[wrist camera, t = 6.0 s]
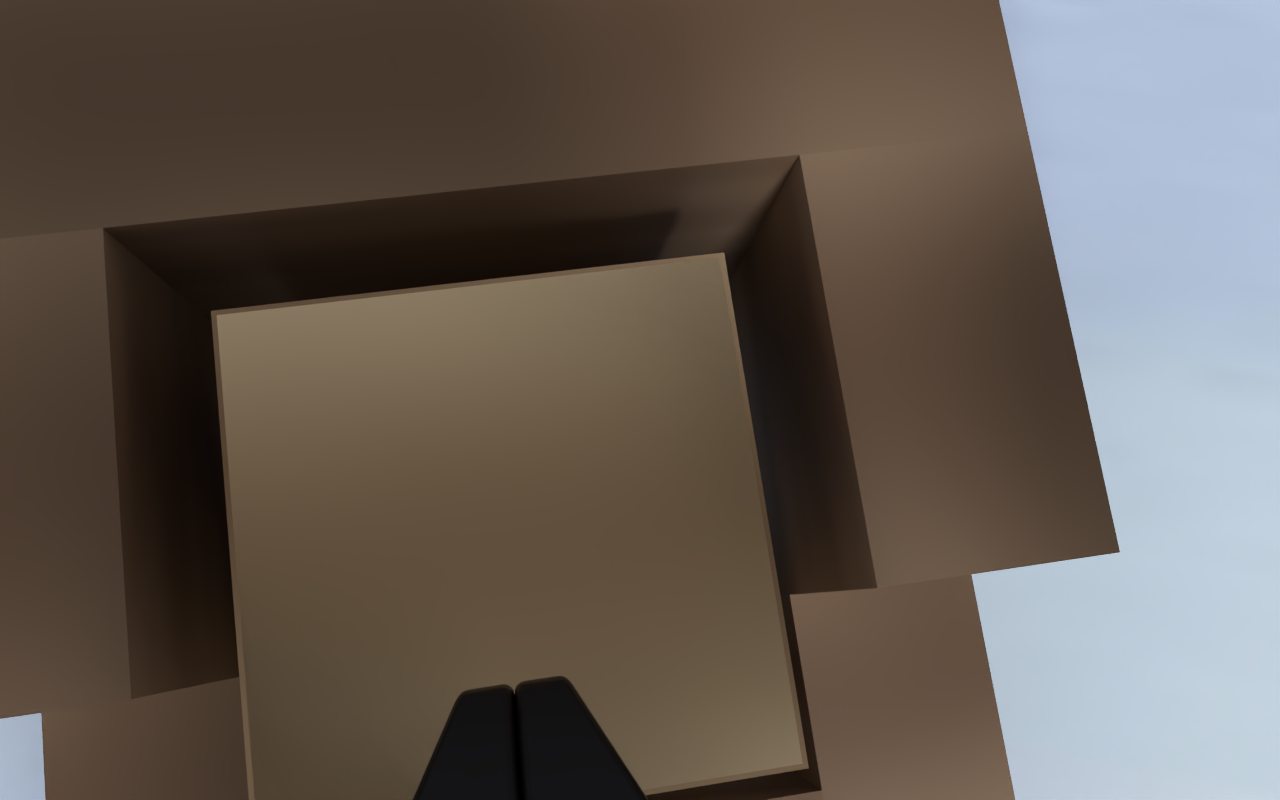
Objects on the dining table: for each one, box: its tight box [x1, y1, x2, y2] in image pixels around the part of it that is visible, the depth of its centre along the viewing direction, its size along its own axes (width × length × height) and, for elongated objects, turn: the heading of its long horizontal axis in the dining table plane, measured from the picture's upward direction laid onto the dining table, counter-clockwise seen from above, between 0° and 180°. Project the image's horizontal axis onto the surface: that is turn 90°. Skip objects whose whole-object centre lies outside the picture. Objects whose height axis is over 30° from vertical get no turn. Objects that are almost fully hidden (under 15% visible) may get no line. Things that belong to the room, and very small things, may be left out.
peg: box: [211, 253, 809, 800], centre depth 14 cm, size 5×5×7 cm
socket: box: [0, 0, 1120, 800], centre depth 14 cm, size 11×12×7 cm
